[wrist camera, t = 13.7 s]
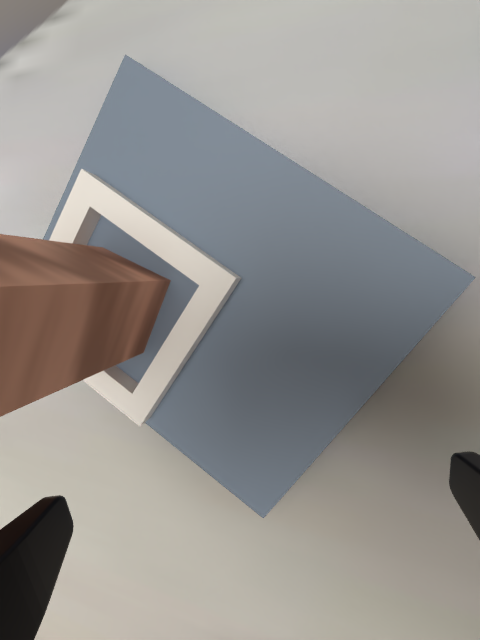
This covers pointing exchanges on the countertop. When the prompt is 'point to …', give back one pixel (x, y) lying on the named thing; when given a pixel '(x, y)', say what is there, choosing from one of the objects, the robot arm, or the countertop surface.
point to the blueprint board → (244, 286)
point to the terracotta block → (68, 315)
